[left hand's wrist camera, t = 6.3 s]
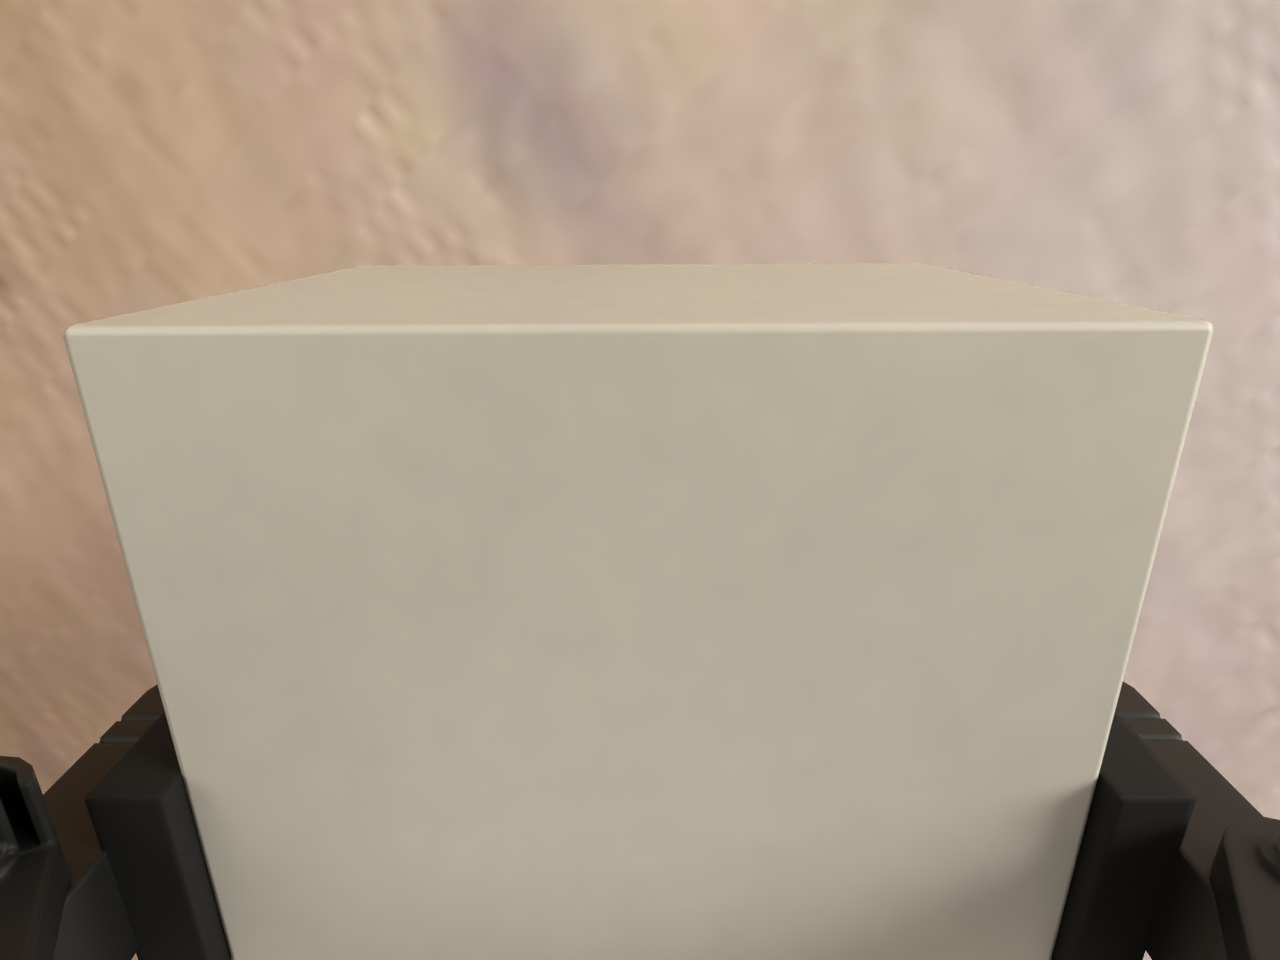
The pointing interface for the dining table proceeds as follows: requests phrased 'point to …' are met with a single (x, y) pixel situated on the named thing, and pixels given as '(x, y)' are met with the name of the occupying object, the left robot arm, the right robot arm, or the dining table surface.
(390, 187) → the dining table surface
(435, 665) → the slab
